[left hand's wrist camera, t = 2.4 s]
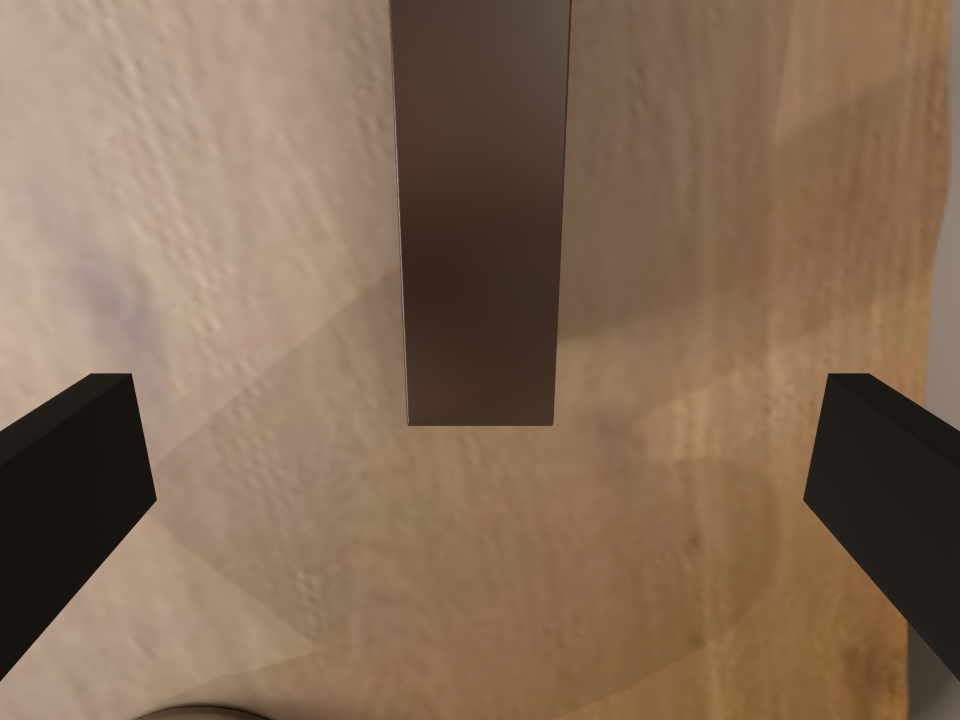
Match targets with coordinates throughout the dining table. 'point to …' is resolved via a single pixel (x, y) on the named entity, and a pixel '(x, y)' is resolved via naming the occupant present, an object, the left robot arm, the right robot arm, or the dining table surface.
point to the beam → (480, 205)
